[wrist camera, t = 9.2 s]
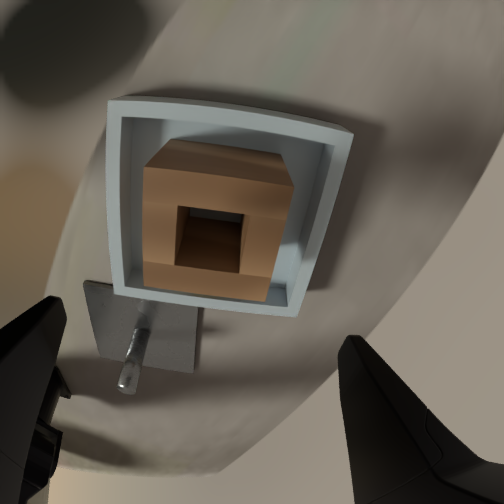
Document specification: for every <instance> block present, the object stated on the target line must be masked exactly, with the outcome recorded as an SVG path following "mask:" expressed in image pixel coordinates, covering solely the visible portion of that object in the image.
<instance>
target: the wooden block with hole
mask: <svg viewBox="0 0 504 504" xmlns="http://www.w3.org/2000/svg"><path fill="white" fill-rule="evenodd" d="M293 191H294V185H293V182H292V180H291V177H290V175H289V173H288V170H287V168H286V165H285V163H284V160H283V158H282V156H281V154H277V153H271V152H266V151H260V150H253V149H247V148H240V147H234V146H227V145H219V144H212V143H204V142H195V141H186V140H177V139H170V140H169V141H168V142H167V143H166V144H165V145H164V146H163V147H162V148H161V149H160V150H159V151H158V152H157V153H156V154H155V155H154V156H153V157H152V158H151V159H150V161H149V162H148V163H147V164H146V165H145V166H144V171H143V202H142V250H143V282H144V286H148V287H154V288H161V289H168V290H175V291H182V292H189V293H197V294H204V295H212V296H220V297H228V298H236V299H244V300H253V301H262V302H265V300H266V297H267V293H268V289H269V285H270V282H271V278H272V274H273V270H274V266H275V263H276V259H277V255H278V251H279V247H280V243H281V239H282V235H283V231H284V227H285V223H286V219H287V215H288V211H289V207H290V203H291V199H292V195H293ZM190 207H195V208H202V209H210V210H217V211H225V212H232V213H239V214H242V215H241V221H240V223H237V222H230V221H223V220H216V219H208V218H201V217H193V216H190Z"/></svg>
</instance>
